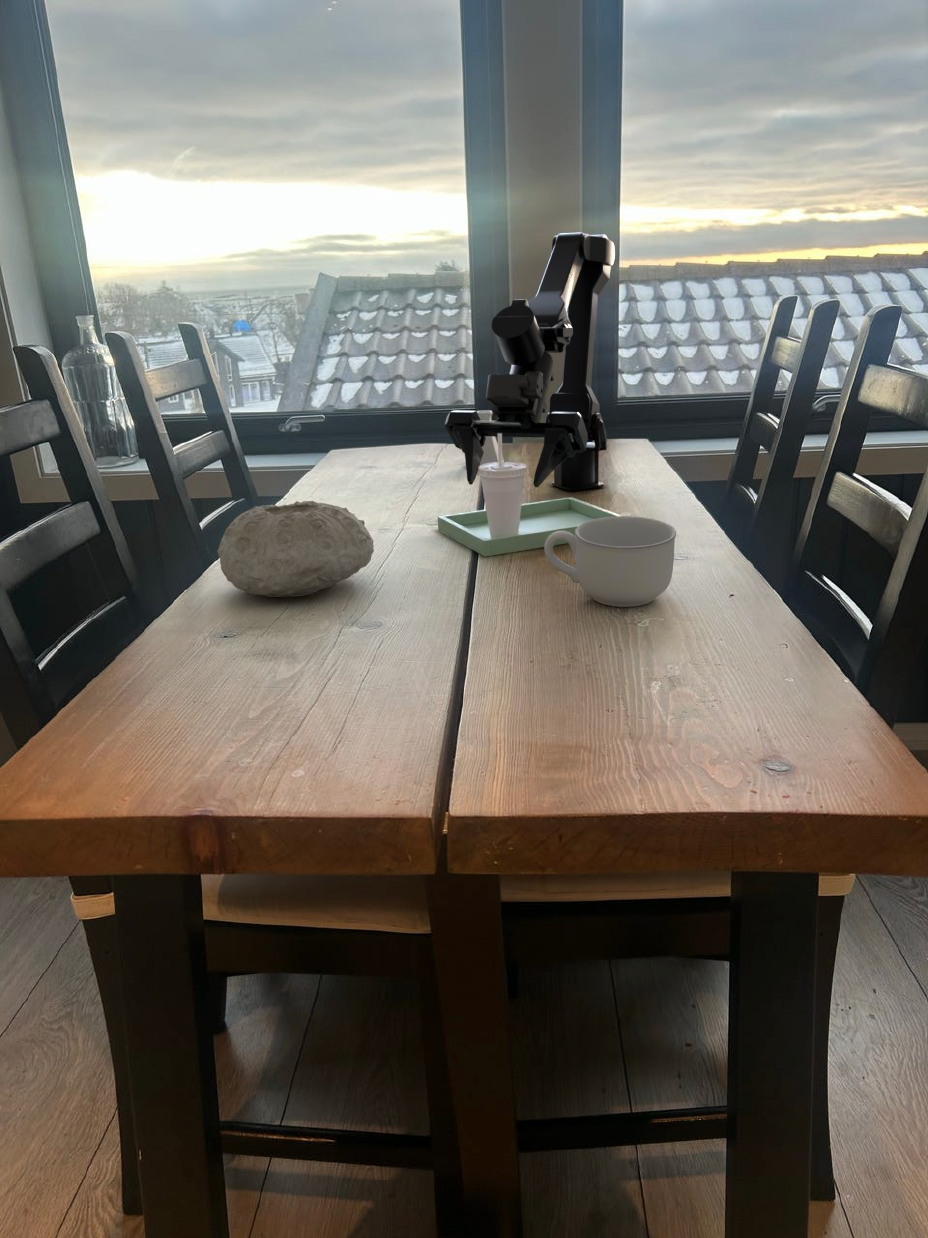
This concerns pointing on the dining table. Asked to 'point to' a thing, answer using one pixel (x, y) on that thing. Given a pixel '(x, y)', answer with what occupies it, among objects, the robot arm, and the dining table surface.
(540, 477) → the robot arm
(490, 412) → the flask
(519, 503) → the smoothie
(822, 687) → the dining table surface
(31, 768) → the dining table surface
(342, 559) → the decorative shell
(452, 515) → the tray
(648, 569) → the teacup
